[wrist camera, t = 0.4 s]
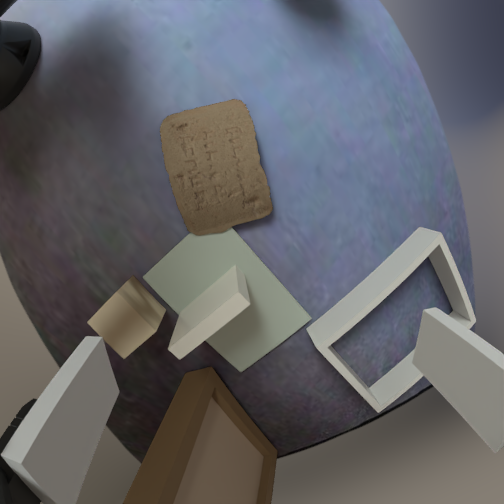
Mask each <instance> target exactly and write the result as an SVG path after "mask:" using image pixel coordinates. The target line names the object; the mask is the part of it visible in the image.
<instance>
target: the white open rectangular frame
mask: <svg viewBox="0 0 504 504" xmlns="http://www.w3.org/2000/svg"><path fill="white" fill-rule="evenodd" d="M427 257H429V259H430V261H431V263H432V265H433V267H434V269H435V271H436V273H437V275H438V278H439V280H440V282H441V284H442V286H443V288H444V291H445V293H446V295H447V297H448V300H449V302H450V304H451V307H452V309H453V311H452V312H451V313H450V314H449V315H448V316H450V317H451V318H453V319H454V320H456V321H457V322H459V323H460V324H462V325H463V326H464V327H466V328H467V329H470V328H471V327H472V326H473V324H474V323H475V322H476V319H475V316H474V312H473V309H472V307H471V304H470V301H469V298H468V295H467V292H466V290H465V287H464V284H463V282H462V279H461V277H460V274H459V272H458V269H457V267H456V265H455V262H454V260H453V258H452V255H451V253H450V251H449V248H448V246H447V244H446V242H445V240H444V238H443V236H442V233H440V232H437V231H433V230H429V229H426V228H422V227H419V228H418V229H417V230H416V231H415V232H414V233H413V234H412V235H411V236H410V237H409V238H408V239H407V240H406V241H405V242H404V243H403V244H402V245H401V246H400V247H398V248H397V249H396V250H395V251H394V252H393V253H392V254H391V255H390V256H389V257H388V258H387V259H386V260H385V261H384V262H383V263H382V264H381V265H380V266H378V267H377V268H376V269H375V270H374V271H373V272H372V273H371V274H370V275H369V276H368V277H366V278H365V279H364V280H363V281H362V282H361V283H360V284H359V285H358V286H356V287H355V288H354V289H353V290H352V291H351V292H350V293H348V294H347V295H346V296H345V297H344V298H343V299H341V300H340V301H339V302H338V303H337V304H336V305H334V306H333V307H332V308H331V309H330V310H328V311H327V312H326V313H325V314H324V315H322V316H321V317H320V318H319V319H318V320H316V321H315V322H314V323H313V324H311V325H310V326H309V327H308V328H306V330H307V332H308V333H309V335H310V337H311V339H312V341H313V343H314V345H315V346H316V348H317V349H318V350H319V351H320V352H321V353H322V354H323V356H324V357H325V358H326V359H327V360H328V361H329V362H330V363H331V364H332V365H333V366H334V367H335V368H336V369H337V370H338V371H339V373H340V374H341V375H342V376H343V377H344V378H345V379H346V380H347V381H348V382H349V383H350V384H351V385H352V386H353V387H354V388H355V389H356V390H357V391H358V392H359V394H360V395H361V396H362V397H363V398H364V399H365V400H366V401H367V402H368V403H369V404H370V405H371V406H372V407H373V408H374V409H375V410H376V411H377V412H378V413H379V412H380V411H382V410H383V409H384V408H386V407H387V406H388V405H389V404H391V403H392V402H393V401H394V400H396V399H397V398H398V397H399V396H401V395H402V394H403V393H404V392H405V391H407V390H408V389H409V388H410V387H411V386H412V385H414V384H415V383H416V382H417V381H418V380H419V379H420V378H421V377H423V376H424V375H423V374H422V373H421V372H420V371H419V370H418V369H417V368H416V367H415V366H414V365H413V364H412V360H413V356H414V352H415V349H414V350H413V351H412V352H411V353H410V354H408V355H407V356H406V357H405V358H404V359H403V360H402V361H401V362H400V363H398V364H397V365H396V366H395V367H394V368H393V369H391V370H390V371H389V372H388V373H387V374H385V375H384V376H383V377H382V378H381V379H379V380H378V381H377V382H376V383H374V384H373V385H372V386H371V387H369V388H368V387H367V385H366V384H365V383H364V382H363V381H362V380H361V379H360V378H359V376H358V375H357V374H356V373H355V372H354V371H353V370H352V369H351V367H350V366H349V365H348V364H347V363H346V362H345V361H344V360H343V358H342V357H341V356H340V355H339V354H338V353H337V352H336V351H335V349H334V348H333V347H332V346H331V344H332V343H334V342H335V341H336V340H337V339H339V338H340V337H341V336H342V335H343V334H345V333H346V332H347V331H348V330H350V329H351V328H352V327H353V326H354V325H355V324H357V323H358V322H359V321H360V320H361V319H362V318H364V317H365V316H366V315H367V314H368V313H369V312H370V311H372V310H373V309H374V308H375V307H376V306H377V305H378V304H379V303H380V302H382V301H383V300H384V299H385V298H386V297H387V296H388V295H389V294H390V293H391V292H392V291H393V290H394V289H395V288H397V287H398V286H399V285H400V284H401V283H402V282H403V281H404V280H405V279H406V278H407V277H408V276H409V275H410V274H411V273H412V272H413V271H414V270H415V269H416V268H417V267H418V266H419V265H420V264H421V263H422V262H423V261H424V260H425V259H426V258H427Z"/></svg>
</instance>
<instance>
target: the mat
mask: <svg viewBox="0 0 504 504" xmlns="http://www.w3.org/2000/svg"><path fill="white" fill-rule="evenodd" d="M235 265H236V266H237V267H238V268H239V269H240V270H241V271H242V272H243V273H244V274H245V279H246V284H247V289H248V294H249V299H250V305H249V306H248V307H246V308H245V309H244V310H243V311H241V312H240V313H239V314H238V315H236V316H235V317H234V318H233V319H231V320H230V321H229V322H228V323H226V324H225V325H224V326H223V327H221V328H220V329H219V330H218V331H216V332H215V333H214V334H212V335H211V336H210V337H209V338H207V339H206V340H205V341H206V342H207V343H209V344H210V345H211V346H212V347H213V348H214V349H215V350H216V351H217V352H218V353H219V354H221V355H222V356H223V357H224V358H225V359H226V360H227V361H228V362H229V363H231V364H232V365H233V366H234V367H235V368H236V369H237V370H239V371H240V372H242V371H244V370H245V369H246V368H248V367H249V366H251V365H252V364H253V363H255V362H256V361H258V360H259V359H260V358H262V357H263V356H264V355H266V354H267V353H268V352H270V351H271V350H272V349H274V348H275V347H276V346H278V345H279V344H280V343H282V342H283V341H284V340H286V339H287V338H288V337H289V336H291V335H292V334H293V333H295V332H296V331H297V330H298V329H300V328H301V327H302V326H303V325H305V324H306V323H307V322H308V321H310V320H311V319H312V318H311V317H310V316H309V314H308V313H307V312H306V311H305V310H304V309H303V308H302V306H301V305H300V304H299V303H298V302H297V301H296V300H295V298H294V297H293V296H292V295H291V294H290V293H289V292H288V290H287V289H286V288H285V287H284V286H283V285H282V284H281V282H280V281H279V280H278V279H277V278H276V277H275V276H274V274H273V273H272V272H271V271H270V270H269V269H268V268H267V267H266V265H265V264H264V263H263V262H262V261H261V260H260V259H259V257H258V256H257V255H256V254H255V253H254V252H253V251H252V249H251V248H250V247H249V246H248V245H247V244H246V243H245V241H244V240H243V239H242V238H241V237H240V236H239V235H238V233H237V232H236V231H235V230H234V229H233V228H232V227H230V228H229V229H227V230H226V231H224V232H222V233H209V234H205V235H200V236H199V235H195V234H193V233H191V232H190V233H189V234H188V235H187V236H186V237H185V238H184V239H183V240H182V241H181V242H179V243H178V244H177V245H176V246H175V247H174V248H173V249H172V250H171V251H170V252H169V253H168V254H166V255H165V256H164V257H163V258H162V259H161V260H160V261H159V262H158V263H157V264H156V265H155V266H154V267H153V268H152V269H151V270H150V271H148V272H147V273H146V274H145V275H144V276H143V279H144V280H145V281H146V282H147V283H148V284H149V285H150V286H151V287H152V288H153V289H154V290H155V291H156V292H157V293H158V294H159V295H160V296H161V298H162V299H163V300H164V301H165V302H166V303H167V304H168V305H169V306H170V307H171V308H172V309H173V310H174V311H175V312H176V313H177V314H178V315H179V314H180V312H181V311H182V310H183V309H184V308H185V307H186V306H188V305H189V304H190V303H191V302H192V301H193V300H195V299H196V298H197V297H198V296H199V295H201V294H202V293H203V292H204V291H205V290H206V289H208V288H209V287H210V286H211V285H212V284H213V283H215V282H216V281H217V280H218V279H219V278H221V277H222V276H223V275H224V274H225V273H226V272H228V271H229V270H230V269H231V268H232V267H233V266H235Z"/></svg>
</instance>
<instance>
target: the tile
mask: <svg viewBox="0 0 504 504" xmlns="http://www.w3.org/2000/svg"><path fill="white" fill-rule="evenodd" d="M249 305H250V299H249V294H248V289H247V284H246V279H245V274H244V273H243V272H242V271H241V270H240V269H239V268H238V267H237V266H236V265H235V266H233V267H232V268H231V269H230V270H229V271H228V272H226V273H225V274H224V275H223V276H222V277H221V278H219V279H218V280H217V281H216V282H215V283H213V284H212V285H211V286H210V287H209V288H208V289H206V290H205V291H204V292H203V293H202V294H201V295H199V296H198V297H197V298H196V299H195V300H193V301H192V302H191V303H190V304H189V305H188V306H186V307H185V308H184V309H183V310H182V311H181V312H180V314H179V317H178V320H177V323H176V326H175V329H174V332H173V335H172V338H171V341H170V344H169V347H168V350H169V351H170V352H171V353H173V354H174V355H175V356H176V357H177V358H178V359H179V360H180V359H181V358H183V357H184V356H185V355H187V354H188V353H189V352H191V351H192V350H193V349H194V348H196V347H197V346H198V345H200V344H201V343H202V342H204V341H205V340H206V339H207V338H209V337H210V336H211V335H212V334H214V333H215V332H216V331H218V330H219V329H220V328H221V327H223V326H224V325H225V324H226V323H228V322H229V321H230V320H231V319H233V318H234V317H235V316H236V315H238V314H239V313H240V312H241V311H243V310H244V309H245V308H246V307H248V306H249Z"/></svg>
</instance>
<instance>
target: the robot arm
mask: <svg viewBox="0 0 504 504" xmlns="http://www.w3.org/2000/svg"><path fill="white" fill-rule="evenodd" d="M16 1H17V0H0V17H1V16H2V15H3V14H4V13H5V12H6V11H7V10H8V9H9V8H10V7H11V6H12V5H13V4H14V3H15V2H16ZM40 47H41V40H40V35H39V33H38V31H37V30H36V29H34V28H33V27H31V26H30V25H28V24H26V23H21V22H12V21H1V20H0V110H1V109H3V108H4V107H6V106H7V105H8V104H9V103H10V102H11V101H12V100H13V99H14V98H15V97H16V96H17V95H18V94H19V92H20V91H21V90H22V88H23V87H24V86H25V84H26V83H27V81H28V79H29V77H30V76H31V74H32V72H33V70H34V67H35V65H36V63H37V60H38V57H39V53H40ZM412 364H413V365H414V366H415V367H416V368H417V369H418V370H419V371H420V372H421V373H422V374H423V375H424V376H425V377H426V378H427V379H428V380H429V381H430V382H431V383H432V385H433V386H434V387H435V388H436V389H437V390H438V391H439V392H440V393H441V394H442V395H443V396H444V397H445V398H446V400H447V401H448V402H449V403H450V404H451V405H452V406H453V407H454V408H455V409H456V410H457V411H458V413H459V414H460V415H461V416H462V417H463V418H464V419H465V420H466V421H467V422H468V424H469V425H470V426H471V427H472V428H473V429H474V430H475V431H476V432H477V434H478V435H479V436H480V437H481V438H482V439H483V440H484V442H485V443H486V444H487V445H488V446H489V447H490V448H491V450H492V451H493V452H494V453H496V452H497V451H498V450H500V449H501V448H502V447H504V353H502V352H500V351H498V350H497V349H496V348H494V347H493V346H492V345H490V344H489V343H487V342H486V341H484V340H483V339H482V338H480V337H479V336H477V335H476V334H475V333H473V332H472V331H470V330H469V329H467V328H466V327H464V326H463V325H462V324H460V323H459V322H457V321H456V320H454V319H453V318H451V317H450V316H448V315H447V314H445V313H444V312H442V311H441V310H439V309H438V308H436V307H435V308H430V309H425V310H423V314H422V320H421V325H420V330H419V335H418V339H417V344H416V348H415V352H414V356H413V360H412ZM118 394H119V389H118V386H117V383H116V380H115V377H114V374H113V371H112V368H111V365H110V361H109V358H108V355H107V351H106V348H105V344H104V341H103V337H92V336H86V337H85V338H84V339H83V341H82V342H81V343H80V344H79V346H78V347H77V348H76V349H75V351H74V352H73V353H72V354H71V356H70V357H69V358H68V360H67V361H66V362H65V363H64V365H63V366H62V367H61V369H60V370H59V371H58V373H57V374H56V375H55V377H54V378H53V379H52V381H51V382H50V383H49V385H48V386H47V387H46V389H45V390H44V391H43V393H42V394H41V395H40V397H39V398H38V399H33V400H31V401H30V402H28V403H27V404H25V405H24V406H23V407H22V408H21V410H20V411H19V412H18V414H17V415H16V418H14V419H13V421H12V422H11V426H8V428H7V429H6V431H5V432H4V434H3V435H2V437H1V438H0V504H40V502H42V503H44V504H76V501H77V498H78V495H79V492H80V490H81V487H82V484H83V481H84V478H85V476H86V473H87V470H88V468H89V465H90V462H91V459H92V457H93V455H94V452H95V449H96V447H97V444H98V442H99V439H100V437H101V434H102V432H103V430H104V427H105V425H106V422H107V420H108V418H109V415H110V413H111V410H112V408H113V406H114V403H115V401H116V399H117V397H118Z"/></svg>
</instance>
